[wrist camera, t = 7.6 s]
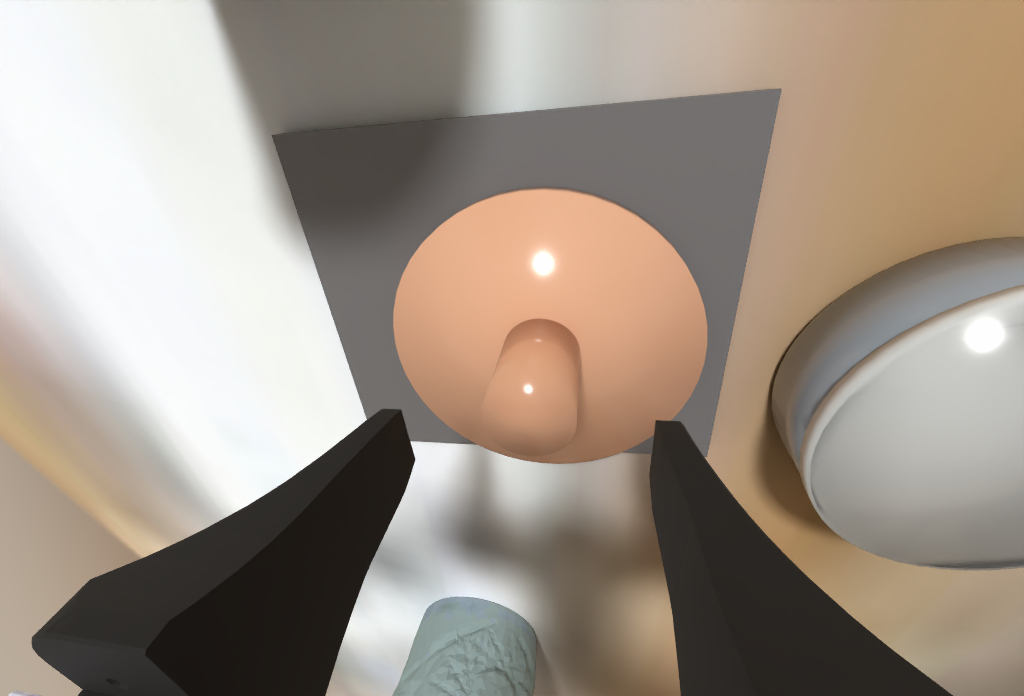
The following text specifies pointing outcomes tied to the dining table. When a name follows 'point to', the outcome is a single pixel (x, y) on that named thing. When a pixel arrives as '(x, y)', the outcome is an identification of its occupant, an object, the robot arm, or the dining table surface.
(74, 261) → the dining table surface
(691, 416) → the mat
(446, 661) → the embossed green pot
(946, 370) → the bowl
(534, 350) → the lid
